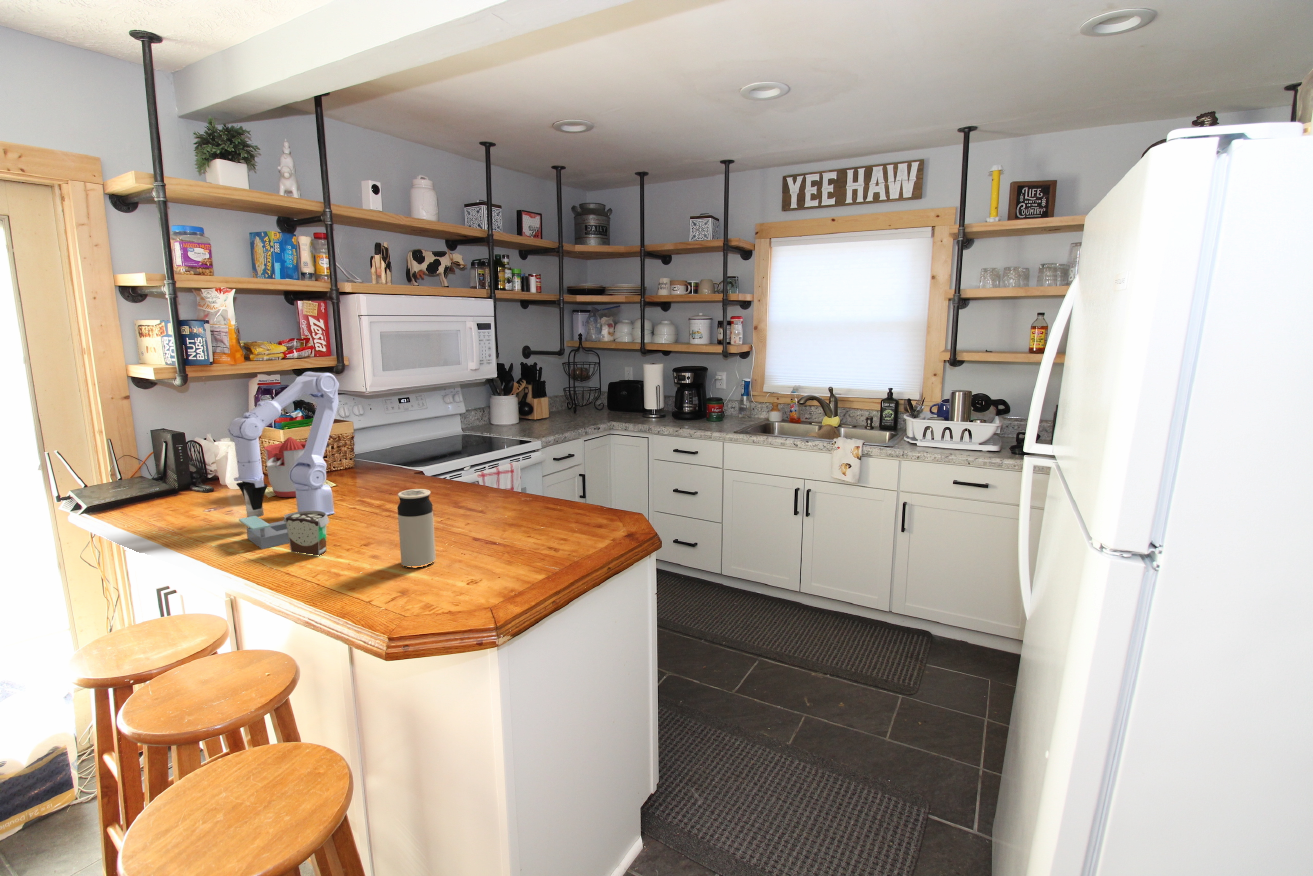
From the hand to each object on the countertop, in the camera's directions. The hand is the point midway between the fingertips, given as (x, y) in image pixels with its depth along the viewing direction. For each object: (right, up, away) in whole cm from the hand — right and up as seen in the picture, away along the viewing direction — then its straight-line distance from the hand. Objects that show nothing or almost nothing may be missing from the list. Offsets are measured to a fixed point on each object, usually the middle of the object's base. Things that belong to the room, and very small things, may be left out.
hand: (254, 507), depth 180 cm
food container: (+25, -10, -14) cm, 30 cm away
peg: (0, -2, 0) cm, 2 cm away
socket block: (+10, -8, -5) cm, 14 cm away
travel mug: (+55, -11, -23) cm, 60 cm away
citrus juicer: (-11, 0, +39) cm, 41 cm away
